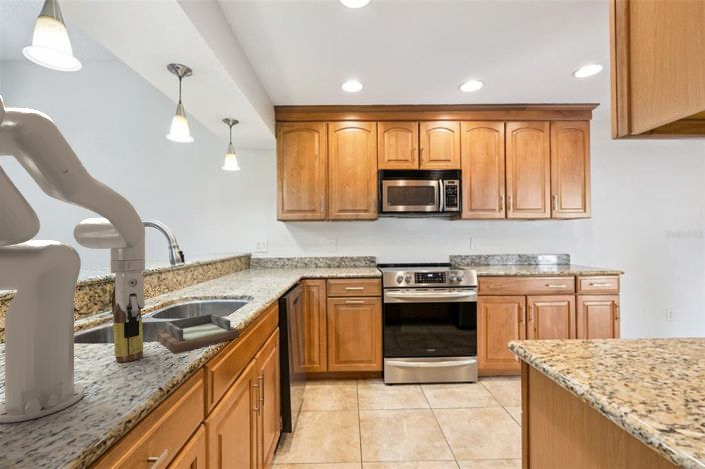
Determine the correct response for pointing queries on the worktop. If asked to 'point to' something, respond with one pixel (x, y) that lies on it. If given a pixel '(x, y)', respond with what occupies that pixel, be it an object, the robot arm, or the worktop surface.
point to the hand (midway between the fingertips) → (128, 333)
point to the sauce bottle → (126, 346)
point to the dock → (196, 332)
